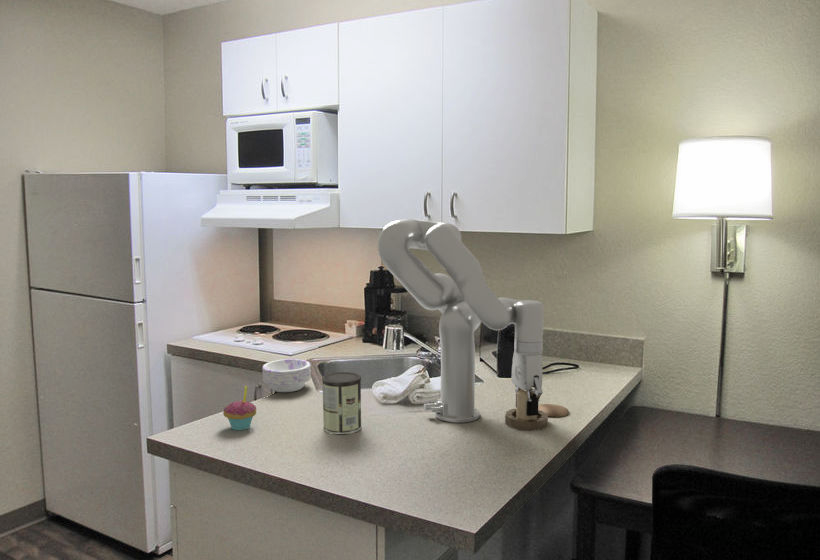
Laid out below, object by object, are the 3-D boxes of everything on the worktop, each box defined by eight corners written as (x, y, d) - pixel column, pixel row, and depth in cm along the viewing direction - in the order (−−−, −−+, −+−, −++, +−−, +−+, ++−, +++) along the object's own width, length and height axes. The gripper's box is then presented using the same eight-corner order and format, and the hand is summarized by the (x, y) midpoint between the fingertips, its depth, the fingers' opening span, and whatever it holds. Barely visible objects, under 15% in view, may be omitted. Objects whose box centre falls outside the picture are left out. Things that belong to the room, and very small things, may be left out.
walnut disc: (542, 418, 188) (542, 416, 188) (526, 407, 197) (526, 405, 197) (574, 415, 191) (574, 413, 191) (557, 404, 200) (557, 402, 200)
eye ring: (516, 432, 177) (516, 423, 177) (498, 418, 188) (499, 410, 188) (554, 428, 181) (555, 419, 180) (535, 414, 191) (535, 406, 191)
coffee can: (338, 419, 187) (337, 369, 185) (369, 426, 182) (368, 375, 180) (314, 430, 178) (313, 378, 176) (346, 438, 173) (345, 384, 171)
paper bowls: (253, 392, 211) (252, 368, 210) (278, 380, 226) (277, 356, 224) (297, 397, 206) (296, 372, 205) (319, 384, 221) (319, 360, 220)
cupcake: (254, 420, 186) (253, 378, 184) (259, 430, 178) (258, 386, 177) (222, 424, 183) (220, 381, 181) (225, 434, 175) (224, 389, 173)
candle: (536, 427, 181) (537, 391, 180) (515, 426, 182) (516, 390, 181) (536, 420, 186) (537, 385, 185) (516, 419, 188) (517, 384, 186)
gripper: (502, 340, 189) (501, 403, 191) (530, 354, 172) (528, 423, 175) (526, 338, 191) (525, 400, 193) (556, 353, 174) (554, 420, 177)
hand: (526, 410), depth 184 cm, fingers open, 5 cm apart
